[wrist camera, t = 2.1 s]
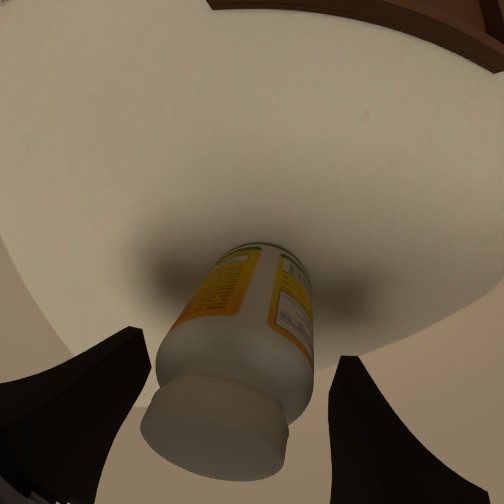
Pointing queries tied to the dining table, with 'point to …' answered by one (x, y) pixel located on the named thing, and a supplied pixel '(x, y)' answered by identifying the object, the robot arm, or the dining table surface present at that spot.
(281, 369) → the supplement bottle
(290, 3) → the tray
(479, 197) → the dining table surface
